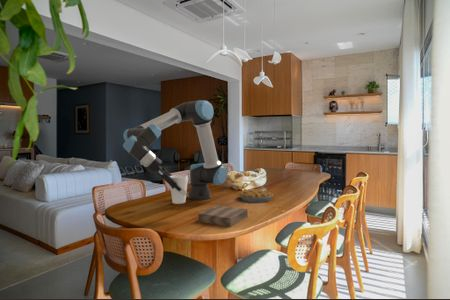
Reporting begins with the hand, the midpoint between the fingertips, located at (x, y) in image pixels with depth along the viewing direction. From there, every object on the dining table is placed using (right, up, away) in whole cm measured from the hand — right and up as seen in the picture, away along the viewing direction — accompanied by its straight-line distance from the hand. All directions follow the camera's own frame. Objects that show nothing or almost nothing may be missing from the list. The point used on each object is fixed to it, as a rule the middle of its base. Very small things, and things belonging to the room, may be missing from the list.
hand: (185, 192), depth 145 cm
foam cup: (-3, -5, 0) cm, 6 cm away
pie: (+40, -11, +45) cm, 61 cm away
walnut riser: (+19, -13, +1) cm, 23 cm away
